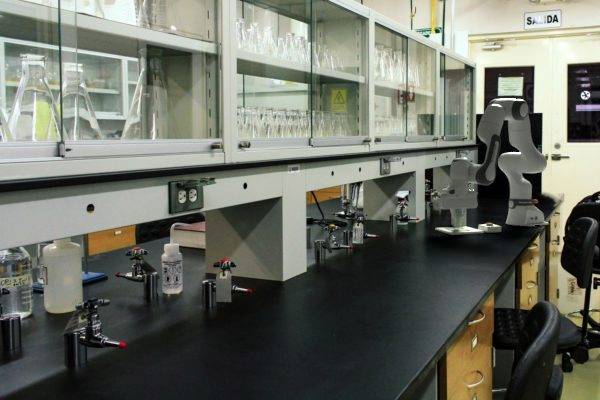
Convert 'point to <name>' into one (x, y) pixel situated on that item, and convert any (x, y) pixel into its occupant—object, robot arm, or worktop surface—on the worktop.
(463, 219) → the skincare box
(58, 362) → the worktop surface
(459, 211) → the sage marker
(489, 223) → the button
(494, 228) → the button housing
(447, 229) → the board
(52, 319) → the worktop surface
